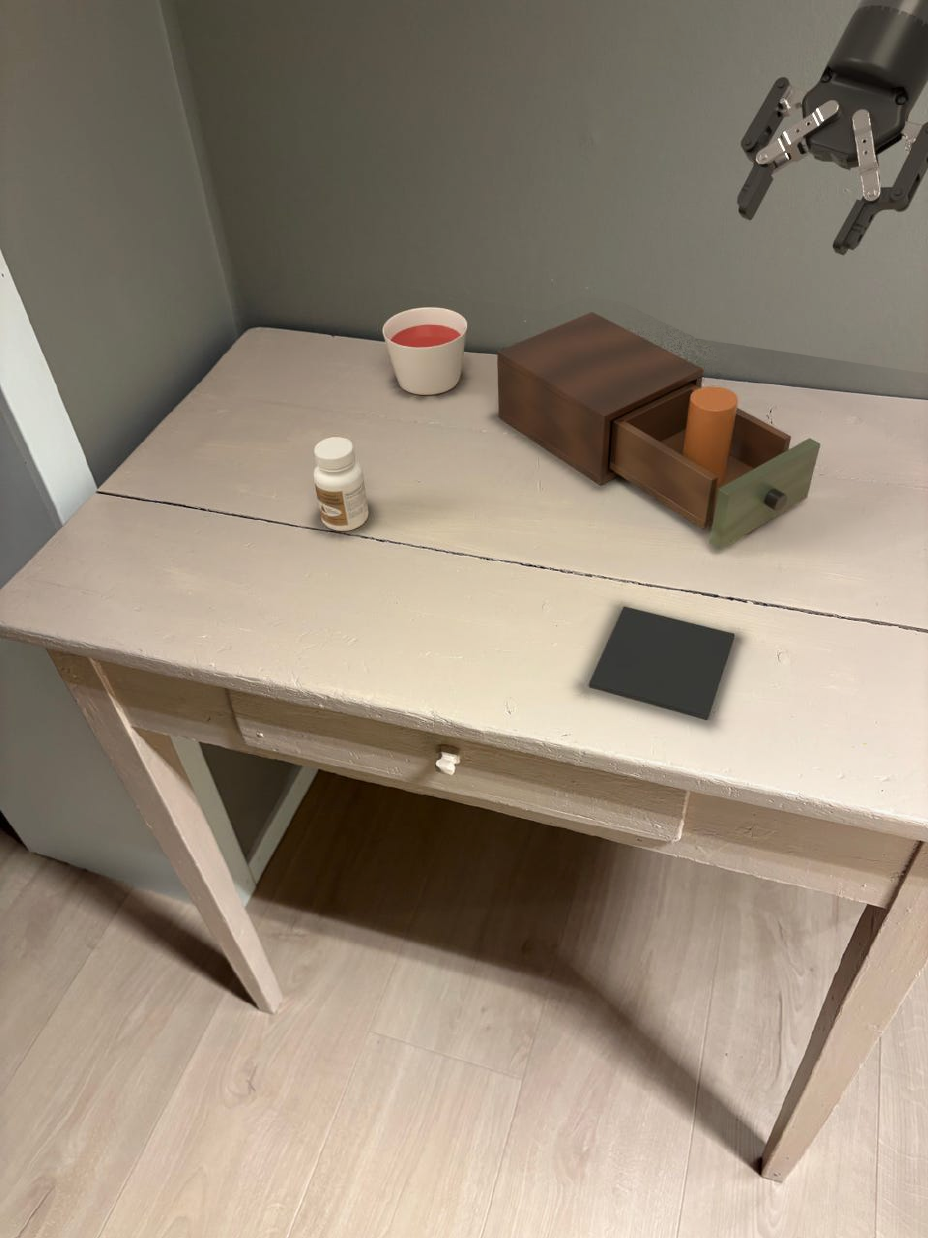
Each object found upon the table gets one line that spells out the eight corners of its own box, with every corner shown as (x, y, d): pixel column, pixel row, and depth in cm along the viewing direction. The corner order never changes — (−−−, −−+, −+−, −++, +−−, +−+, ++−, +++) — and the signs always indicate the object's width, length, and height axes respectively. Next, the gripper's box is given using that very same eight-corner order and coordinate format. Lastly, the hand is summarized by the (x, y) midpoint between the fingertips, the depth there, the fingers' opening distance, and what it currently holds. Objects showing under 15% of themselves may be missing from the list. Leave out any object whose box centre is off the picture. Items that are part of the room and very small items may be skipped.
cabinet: (694, 436, 96) (703, 368, 90) (600, 485, 91) (604, 416, 85) (589, 376, 105) (592, 311, 100) (498, 417, 100) (496, 351, 95)
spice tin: (729, 466, 88) (742, 390, 83) (719, 491, 86) (732, 414, 80) (686, 458, 90) (696, 382, 84) (675, 482, 87) (685, 405, 82)
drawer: (818, 504, 86) (832, 449, 82) (730, 557, 81) (740, 502, 77) (688, 430, 95) (695, 377, 91) (603, 474, 90) (606, 421, 86)
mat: (734, 637, 75) (734, 633, 75) (707, 720, 70) (708, 715, 69) (623, 610, 78) (623, 605, 78) (589, 687, 72) (589, 682, 72)
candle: (373, 392, 105) (367, 339, 100) (412, 353, 110) (407, 301, 106) (447, 408, 102) (444, 354, 97) (483, 367, 107) (481, 314, 103)
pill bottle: (312, 519, 89) (298, 449, 84) (347, 497, 91) (335, 427, 86) (343, 538, 87) (331, 468, 81) (378, 515, 89) (369, 445, 84)
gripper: (807, -18, 74) (702, 188, 78) (989, 26, 68) (865, 247, 72) (823, 33, 80) (725, 221, 84) (991, 78, 74) (877, 278, 78)
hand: (790, 233), depth 78 cm, fingers open, 8 cm apart
